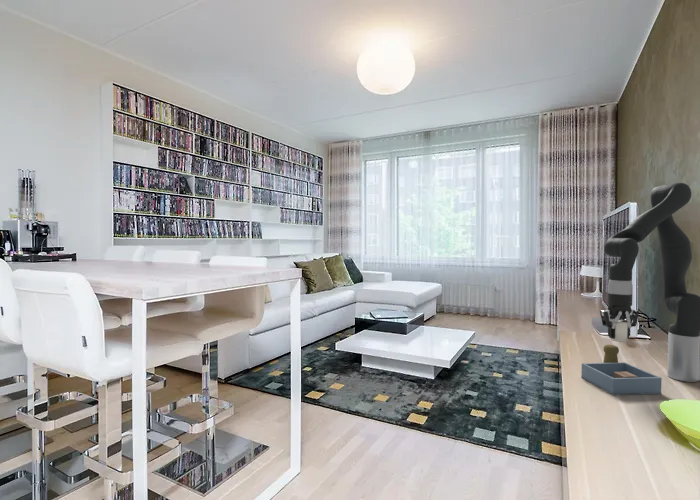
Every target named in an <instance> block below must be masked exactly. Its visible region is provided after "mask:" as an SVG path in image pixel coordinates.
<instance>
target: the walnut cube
mask: <svg viewBox="0 0 700 500" xmlns="http://www.w3.org/2000/svg"><path fill="white" fill-rule="evenodd" d="M637 377H638V376H635V375H633V374H631V373H629V372H613V378H637Z"/></svg>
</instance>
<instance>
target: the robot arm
mask: <svg viewBox="0 0 700 500" xmlns="http://www.w3.org/2000/svg"><path fill="white" fill-rule="evenodd" d="M691 199H692V190H691V187H690V186H689V185H688V184H687V183H684V182H673V183H669V184H668V183H667V184H662V185H657V186H655V187H654V188H652V190H651V193H650V203H651V209H649V210H646V211H645V212H643V213H642V214H640V215H638V216H636V217H635V218H634V219H633V220H632V221H631V222H629V224H628V225H627V226H626V227H625V228H624V229H622V230H620V231H618V232H617V233H615V234H614V235H612V236H610V237H609V238H608V239H607V240H606V242H605V243H604V246H603V250H604V254H606V255H607V256H609V257H611V258H620V259H619V261H618V262H617V263H613V264H610V265H609V267H608V283H607V302H606V303H607V305H608V307H607V309H605V310H601V309H600V311H599V314H600V317H601V318H600V319H601V324H602V326H603V327H607V337H608V338H610V339H611V338H612V339H615V329H614V328H615V326H616V323H618V321H619V320H620V321H624V322H628V331H627V339H629V338H630V336H631V328H633V327H637V323H638V319H639V314H640V311H639V310H637V309H632V306H633V294H634V292H633V291H634V290H633V289H634V287H633V269H634V266H635V263H636V260H637V257H638V254H639V251H640V250H639V249H640V248H639V247H640V246H639V244H638V243H641V242H642V241H644V240H645V239H646V238H647V237H648V236H649V235H650V234H651V233H652V232H653V230H655V229H656V230H657V235H658V245H659V251H660V260H661V263H662V264H661V265H662V275H663V301H664V306H665V309H666V310H667V311H668V312H669V313H671V314H673V315H675V316H676V321H675V322H674V323H671V324H669V326H668V336H667V337H668V339H667V371H666V374H667V377H669V378H671V379H674V380H676V381H681V382H688V383H697V382H699V381H700V296H699V295H697V294H696V293H695V294H694V293H690V292H687V287H686V275H687V271H688V270H689V267H690V265H691V262H692V259H693V255H692V247H691V246H692V245H691V241H690V238H689V237H688V236H687V234H686V233H685V232H684V230H682V229H681V228H680V227H679V226H678V224H677V223H676V221H675V220H674V218H673V214H675V213H676V212H677V211H679V210H680V209H682V208H683V207H685V206H686V205H688V203H689V202H690V200H691Z"/></svg>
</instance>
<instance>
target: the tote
mask: <svg viewBox="0 0 700 500" xmlns="http://www.w3.org/2000/svg"><path fill="white" fill-rule="evenodd" d="M613 372H629V373H631V374H633V375H635V376H638V377H637V378H613ZM581 378H582V379H583V380H585V381H587V382H589V383H590V384H592V385H593V386H596V387H598V388H599V389H601V390H603V391H605V392H606V393H608V394H610V395H612V396H625V395H626V396H628V395H631V396H632V395H661V394H662V381H663V379H662V377H661V376H658V375H656V374H653V373H651V372H648V371H646V370H643V369H642V368H639V367H637V366H634V365H632V364H630V363H627V362H618V363H603V362H591V363H590V362H589V363H588V362H587V363H586V362H585V363H581Z"/></svg>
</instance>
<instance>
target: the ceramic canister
mask: <svg viewBox="0 0 700 500" xmlns="http://www.w3.org/2000/svg"><path fill="white" fill-rule="evenodd" d="M614 329H615V339H612V338H610V340H611V341H612V342H617V343H627V342H628V338H627V331H628V322H624V321H621V320H619V321H618V323H616V326H615V328H614Z"/></svg>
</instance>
